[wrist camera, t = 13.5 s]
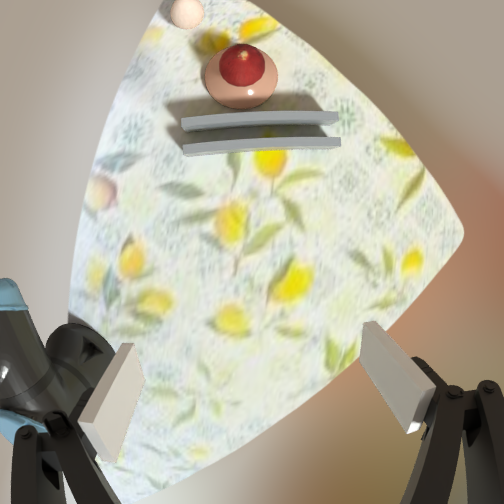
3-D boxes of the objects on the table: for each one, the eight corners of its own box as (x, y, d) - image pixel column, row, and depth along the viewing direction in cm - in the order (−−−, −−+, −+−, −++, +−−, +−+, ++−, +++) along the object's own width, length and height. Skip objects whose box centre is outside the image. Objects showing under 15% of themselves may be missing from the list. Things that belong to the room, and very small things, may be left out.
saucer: (207, 112, 37) (206, 110, 36) (204, 50, 34) (203, 48, 33) (279, 107, 37) (280, 106, 36) (273, 47, 35) (274, 44, 34)
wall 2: (186, 132, 37) (181, 127, 33) (185, 124, 37) (181, 118, 33) (329, 125, 38) (338, 120, 34) (328, 117, 38) (338, 111, 34)
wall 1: (187, 156, 38) (183, 154, 34) (187, 148, 38) (182, 144, 34) (331, 149, 39) (341, 146, 35) (330, 141, 39) (340, 137, 35)
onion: (220, 57, 34) (218, 31, 26) (262, 58, 34) (269, 32, 26) (219, 93, 35) (216, 73, 27) (262, 94, 36) (269, 74, 28)
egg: (177, 39, 33) (168, 15, 26) (173, 17, 32) (164, -8, 25) (208, 31, 33) (204, 6, 26) (202, 10, 32) (198, -16, 25)
